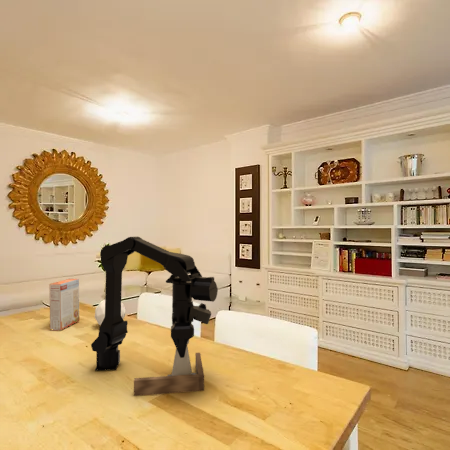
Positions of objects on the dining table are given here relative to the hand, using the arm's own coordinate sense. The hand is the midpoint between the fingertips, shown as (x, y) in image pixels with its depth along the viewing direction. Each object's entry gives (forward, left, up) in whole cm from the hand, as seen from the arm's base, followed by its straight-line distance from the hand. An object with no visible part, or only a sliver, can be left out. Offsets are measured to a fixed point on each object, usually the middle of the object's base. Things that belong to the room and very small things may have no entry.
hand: (182, 351), depth 94 cm
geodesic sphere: (-32, +58, -9) cm, 67 cm away
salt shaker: (0, 0, -9) cm, 9 cm away
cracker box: (-53, +62, -9) cm, 82 cm away
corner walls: (-3, +3, -9) cm, 10 cm away
